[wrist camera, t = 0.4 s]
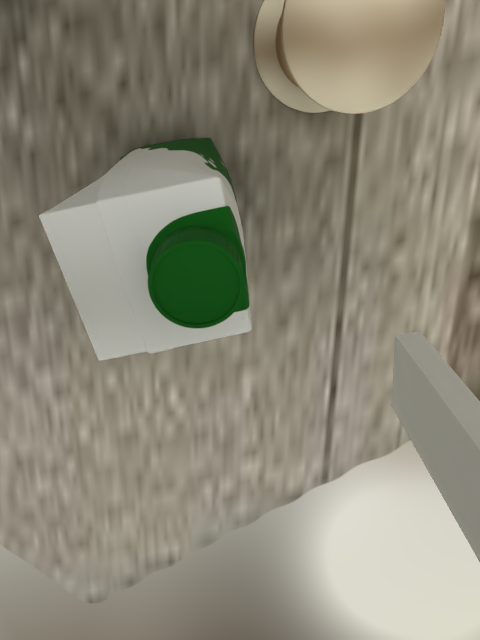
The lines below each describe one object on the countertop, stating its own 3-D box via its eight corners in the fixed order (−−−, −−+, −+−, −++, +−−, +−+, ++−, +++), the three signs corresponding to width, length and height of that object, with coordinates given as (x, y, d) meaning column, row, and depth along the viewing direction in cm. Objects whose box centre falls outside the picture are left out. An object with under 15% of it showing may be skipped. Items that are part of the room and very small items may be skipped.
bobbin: (238, -13, 30) (252, -59, 20) (370, -58, 29) (449, -127, 20) (270, 127, 34) (295, 145, 25) (386, 91, 34) (459, 94, 24)
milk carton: (241, 232, 38) (270, 363, 20) (137, 254, 38) (77, 401, 21) (219, 122, 34) (232, 165, 16) (103, 147, 34) (-8, 216, 17)
